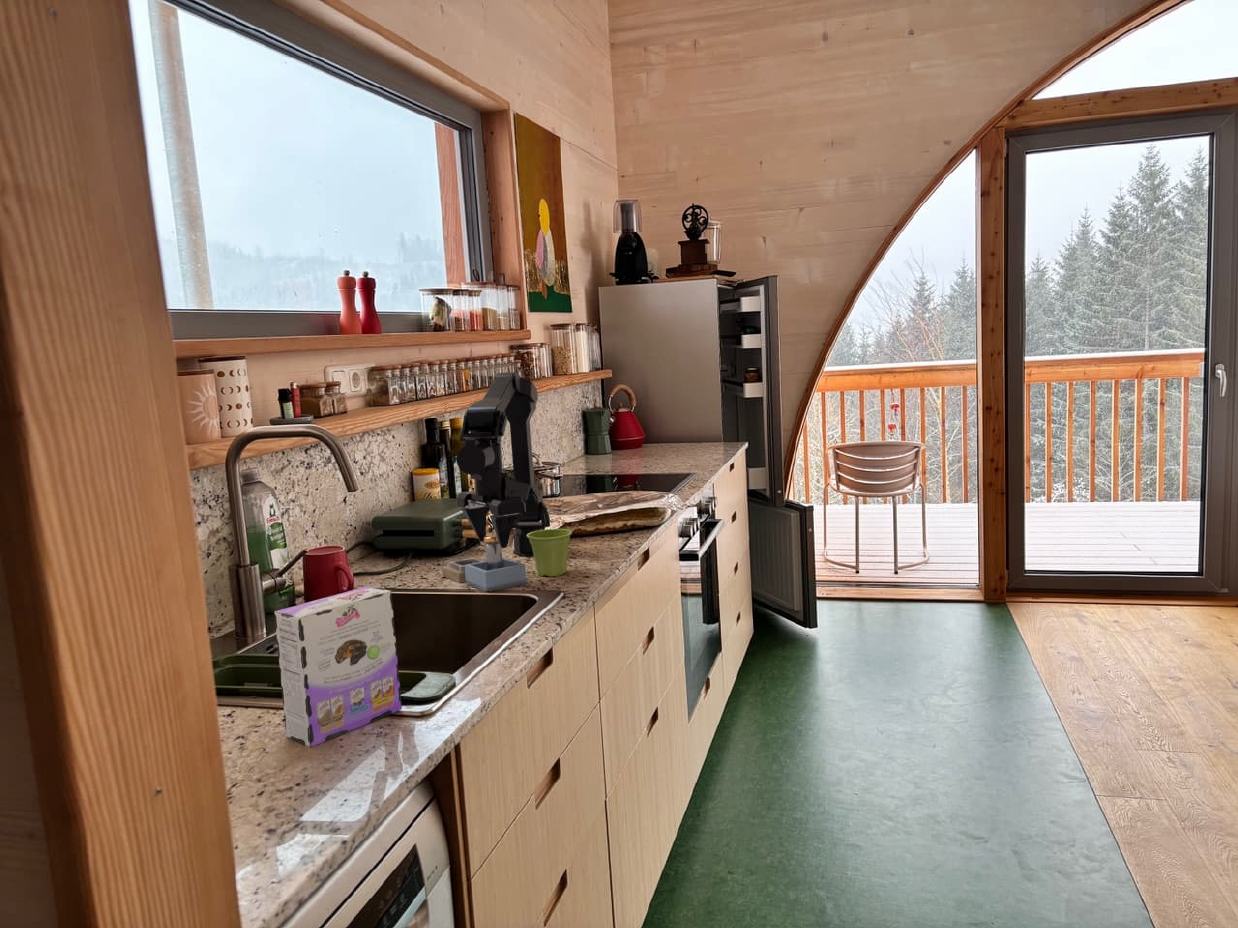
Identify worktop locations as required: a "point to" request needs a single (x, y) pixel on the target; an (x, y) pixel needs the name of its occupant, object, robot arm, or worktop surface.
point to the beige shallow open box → (458, 569)
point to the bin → (495, 575)
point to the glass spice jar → (493, 552)
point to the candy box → (337, 664)
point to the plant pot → (550, 550)
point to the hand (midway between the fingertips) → (493, 544)
